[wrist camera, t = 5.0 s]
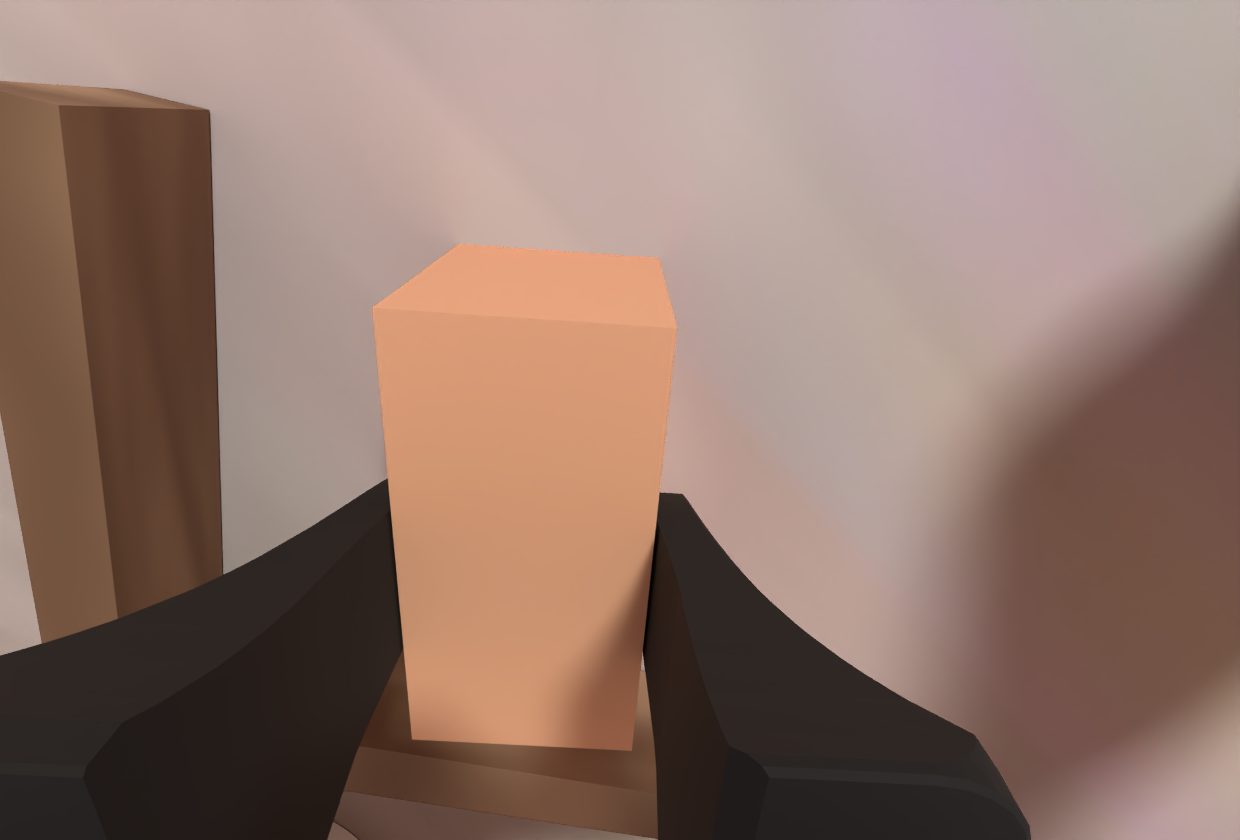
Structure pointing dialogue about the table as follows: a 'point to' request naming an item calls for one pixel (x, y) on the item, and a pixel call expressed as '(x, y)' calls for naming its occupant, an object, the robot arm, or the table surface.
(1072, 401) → the table surface
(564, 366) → the block
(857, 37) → the table surface
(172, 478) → the wooden l-shaped bracket
